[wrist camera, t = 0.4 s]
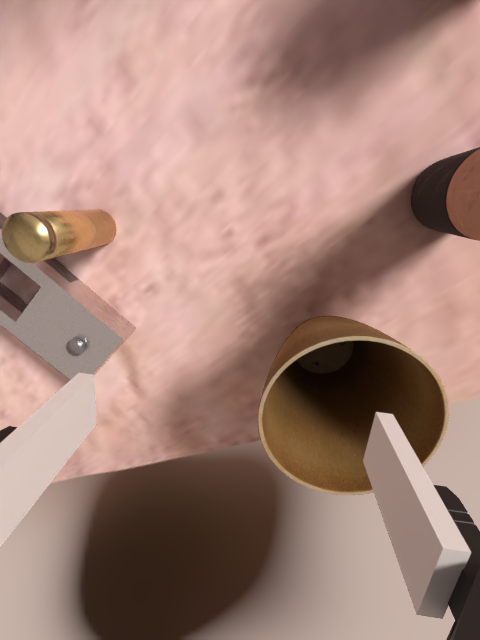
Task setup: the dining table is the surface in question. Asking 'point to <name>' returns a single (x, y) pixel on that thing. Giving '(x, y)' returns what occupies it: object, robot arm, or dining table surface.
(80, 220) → the pin
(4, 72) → the dining table surface
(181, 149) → the dining table surface
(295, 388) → the plant pot
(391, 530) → the robot arm
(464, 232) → the travel mug
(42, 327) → the door bolt
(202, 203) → the dining table surface
